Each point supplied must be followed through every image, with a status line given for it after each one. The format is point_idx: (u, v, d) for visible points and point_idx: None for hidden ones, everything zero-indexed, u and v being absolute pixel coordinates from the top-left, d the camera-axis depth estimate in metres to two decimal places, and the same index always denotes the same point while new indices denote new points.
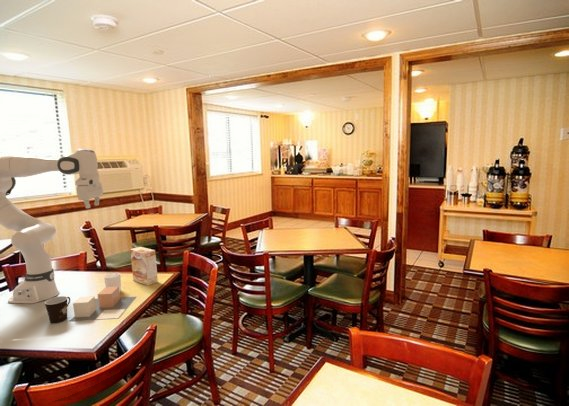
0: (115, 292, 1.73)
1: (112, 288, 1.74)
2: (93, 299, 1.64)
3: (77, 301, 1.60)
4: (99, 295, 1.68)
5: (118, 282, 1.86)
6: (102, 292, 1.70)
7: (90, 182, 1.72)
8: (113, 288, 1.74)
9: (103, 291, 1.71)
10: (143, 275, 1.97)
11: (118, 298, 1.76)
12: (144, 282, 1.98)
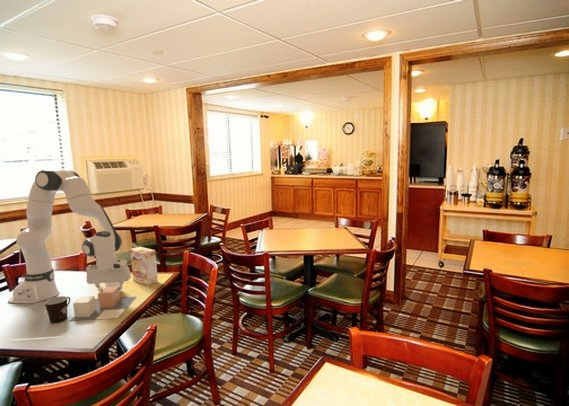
0: (115, 292, 1.73)
1: (112, 288, 1.74)
2: (93, 299, 1.64)
3: (77, 301, 1.60)
4: (99, 295, 1.68)
5: (118, 282, 1.86)
6: (102, 292, 1.70)
7: None
8: (113, 288, 1.74)
9: (103, 291, 1.71)
10: (143, 275, 1.97)
11: (118, 298, 1.76)
12: (144, 282, 1.98)
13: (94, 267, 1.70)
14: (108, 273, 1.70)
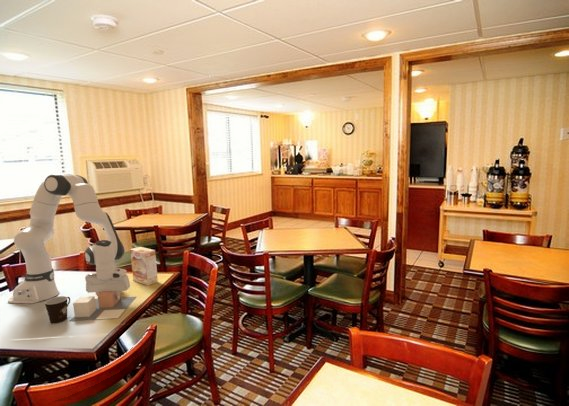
0: (115, 292, 1.73)
1: None
2: (93, 299, 1.64)
3: (77, 301, 1.60)
4: (99, 295, 1.68)
5: None
6: (102, 292, 1.70)
7: None
8: None
9: None
10: (143, 275, 1.97)
11: None
12: (144, 282, 1.98)
13: (94, 276, 1.70)
14: (107, 282, 1.70)
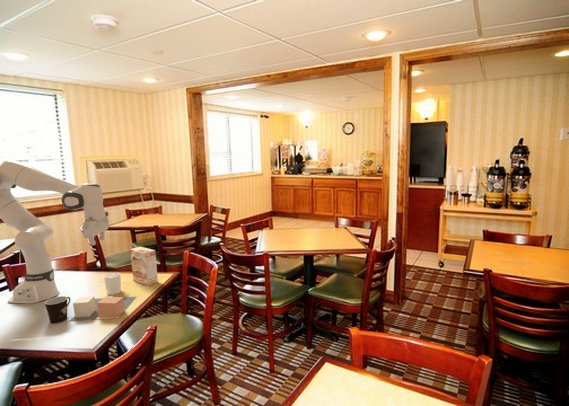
0: None
1: (107, 298, 1.62)
2: (93, 299, 1.64)
3: (77, 301, 1.60)
4: (116, 303, 1.58)
5: (118, 282, 1.86)
6: (112, 301, 1.59)
7: None
8: (108, 298, 1.63)
9: (110, 301, 1.59)
10: (143, 275, 1.97)
11: None
12: (144, 282, 1.98)
13: (90, 220, 1.65)
14: (99, 223, 1.72)
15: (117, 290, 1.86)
